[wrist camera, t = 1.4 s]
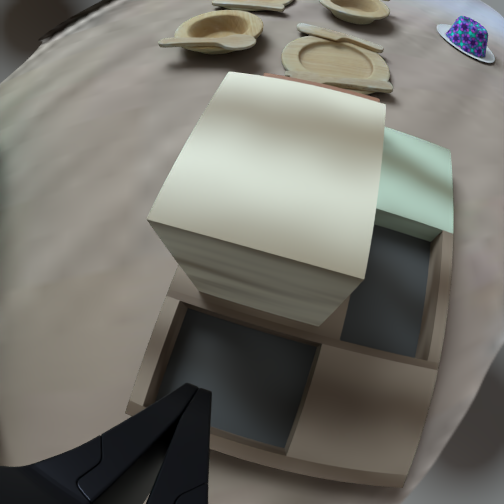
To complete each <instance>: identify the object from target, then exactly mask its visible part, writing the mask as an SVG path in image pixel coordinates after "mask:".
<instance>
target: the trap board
mask: <svg viewBox="0 0 504 504" xmlns="http://www.w3.org/2000/svg"><path fill="white" fill-rule="evenodd" d="M263 76H266V77H272V78H278V79H283V80H289V81H294V82H299V83H304V84H309V85H314V86H318V87H323V88H327V89H331V90H335V91H339V92H343V93H347V94H351V95H355V96H358V97H362V98H365V99H369V100H372V101H376V102H379V103H380V99H378V98H375V97H371V96H368V95H364V94H361V93H357V92H354V91H350V90H346V89H342V88H338V87H334V86H330V85H326V84H321V83H317V82H312V81H307V80H302V79H297V78H292V77H287V76H281V75H275V74H269V73H264V75H263ZM452 255H453V183H452V167H451V154H450V150H448V149H446V148H443V147H441V146H438V145H436V144H433V143H430V142H428V141H425V140H422V139H419V138H417V137H414V136H411V135H408V134H405V133H402V132H399V131H396V130H393V129H390V128H387V127H385V128H384V141H383V153H382V163H381V173H380V182H379V190H378V198H377V206H376V213H375V220H374V226H373V233H372V239H371V245H370V251H369V257H368V262H367V267H366V273H365V278H364V280H363V281H362V282H361V283H360V284H359V286H358V287H357V288H356V289H355V290H354V291H353V292H352V293H351V294H350V295H349V296H348V297H347V298H346V299H345V300H344V301H343V303H342V304H341V305H340V306H339V307H338V308H337V309H336V310H335V311H334V312H333V313H332V314H331V315H330V316H329V317H328V318H327V319H326V320H325V321H324V322H323V323H322V324H321V325H320V326H315V325H311V324H308V323H304V322H300V321H297V320H293V319H290V318H286V317H283V316H279V315H276V314H272V313H269V312H265V311H262V310H259V309H255V308H252V307H249V306H245V305H242V304H239V303H235V302H232V301H229V300H226V299H222V298H219V297H216V296H213V295H210V294H207V293H203V292H200V291H198V289H197V288H196V287H195V285H194V284H193V283H192V281H191V280H190V279H189V277H188V276H187V275H186V273H185V272H184V271H183V269H182V268H181V267H180V265H178V267H177V269H176V272H175V275H174V277H173V280H172V282H171V285H170V287H169V290H168V292H167V295H166V298H165V300H164V303H163V305H162V308H161V311H160V313H159V316H158V319H157V321H156V324H155V327H154V330H153V332H152V335H151V338H150V341H149V343H148V346H147V349H146V352H145V355H144V358H143V361H142V363H141V366H140V369H139V372H138V375H137V378H136V381H135V384H134V387H133V390H132V393H131V396H130V399H129V402H128V405H127V409H126V412H125V413H126V414H128V415H130V416H134V415H135V414H137V413H139V412H140V411H142V410H143V409H145V408H147V407H148V406H150V405H152V404H153V403H155V402H156V401H158V400H160V399H161V398H163V397H164V396H166V395H168V394H169V393H171V392H172V391H174V390H175V389H177V388H178V387H180V386H182V385H183V384H185V383H190V384H193V385H196V386H198V387H199V388H204V389H207V390H209V391H211V392H212V405H211V425H210V448H209V449H212V450H215V451H218V452H221V453H224V454H227V455H230V456H233V457H236V458H240V459H243V460H246V461H250V462H253V463H257V464H261V465H264V466H268V467H272V468H276V469H280V470H284V471H288V472H293V473H297V474H302V475H307V476H312V477H317V478H323V479H328V480H335V481H341V482H348V483H355V484H363V485H372V486H383V487H396V488H403V485H404V483H405V480H406V478H407V475H408V472H409V470H410V467H411V464H412V462H413V459H414V456H415V453H416V450H417V447H418V444H419V441H420V438H421V434H422V431H423V428H424V424H425V421H426V417H427V414H428V410H429V406H430V403H431V399H432V395H433V390H434V386H435V382H436V377H437V373H438V368H439V363H440V357H441V352H442V346H443V340H444V334H445V328H446V321H447V313H448V305H449V295H450V285H451V272H452Z"/></svg>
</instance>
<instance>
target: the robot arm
mask: <svg viewBox="0 0 504 504" xmlns="http://www.w3.org/2000/svg"><path fill="white" fill-rule="evenodd" d="M211 405H212V392H211V391H209V390H207V389H204V388H199V387H198V386H196V385H193V384H190V383H185V384H183V385H182V386H180V387H178V388H177V389H175V390H174V391H172V392H171V393H169V394H168V395H166V396H164V397H163V398H161V399H160V400H158V401H156V402H155V403H153V404H152V405H150V406H148V407H147V408H145V409H143V410H142V411H140V412H139V413H137V414H135V415H134V416H132V417H130V418H129V419H127V420H125V421H124V422H122V423H120V424H118V425H117V426H115V427H113V428H112V429H110V430H108V431H106V432H105V433H103V434H102V435H101V436H100V435H99V436H97V437H96V438H94V439H92V440H90V441H88V442H87V443H85V444H83V445H81V446H79V447H77V448H74V449H72V450H69V451H67V452H64V453H62V454H59V455H57V456H54V457H51V458H48V459H45V460H43V461H40V462H37V463H34V464H31V465H27V466H21V467H7V466H0V504H143V503H144V501H145V500H146V498H147V497H148V495H149V494H150V495H149V497H148V500H147V502H146V504H208V475H209V448H210V425H211Z"/></svg>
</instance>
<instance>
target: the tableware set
mask: <svg viewBox="0 0 504 504" xmlns="http://www.w3.org/2000/svg"><path fill="white" fill-rule="evenodd" d="M292 1H293V0H214V1H212V5H213V6H221V7H223V8H227V9H231V10H220V11H212V12H208V13H204V14H201V15H198V16H195V17H193V18H191V19H189V20H187V21H186V22H184V23H183V24H181V25H180V26H179V27H178V29H177V30H176V32H175V38H164V39H162V40H160V41H159V42H158V44H159V46H160V47H182V48H185V49H188V50H191V51H199V52H201V53H204V54H212V55H215V54H225V53H229V52H233V51H235V50H243V49H248V48H251V47H253V46H254V45H255V44H256V38H257V37H258V36H260V34H261V33H262V31H263V22H262V20H261V19H260V18H259V17H258V16H256V15H254V14H252V13H249V12H245V11H262V10H271V11H279V12H283V11H284V10H285V6H286V5H288V4H290V3H291V2H292ZM384 1H390V0H384ZM319 2H320V3H321V4H322V5H323V6H325V7H326V8H328V9H330V10H331V12H332V14H333V15H334V16H335V17H337V18H339V19H341V20H343V21H346V22H349V23H354V24H370V23H372V22H373V21H374V20H378V19H383V18H386V17H388V15H389V14H390V10H389V8H388V7H387V6H386V5H385V4H384V3H383V2H381V1H379V0H319ZM297 30H298V31H300V32H303V33H306V34H309V35H310V36H305V37H301V38H298V39H296V40H294V41H292V42H290V43H289V44H287V45H286V47H285V48H284V50H283V51H282V56H281V59H282V64H283V66H284V68H285V70H286V71H285V76H287V77H292V78H297V79H302V80H307V81H312V82H317V83H321V84H326V85H330V86H334V87H338V88H342V89H346V90H350V91H354V92H357V93H361V94H364V95H367V94H371V93H375V92H383V93H391V92H392V91H393V86H392V84H391V83H390V82H388V81H389V78H390V71H389V68H388V66H387V64H386V62H385V61H384V60H383V58H382V57H381V56H380V55H379V54H378V53H382V52H383V50H384V48H383V47H382V46H380V45H378V44H375V43H372V42H369V41H366V40H363V39H360V38H357V37H354V36H351V35H347V34H344V33H341V32H337V31H333V30H329V29H326V28H321V27H317V26H313V25H308V24H303V23H300V24H298V25H297Z"/></svg>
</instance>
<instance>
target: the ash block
mask: <svg viewBox="0 0 504 504" xmlns="http://www.w3.org/2000/svg"><path fill="white" fill-rule="evenodd" d="M385 112H386V105H385V104H382V103H379V102H376V101H372V100H369V99H365V98H362V97H358V96H355V95H351V94H347V93H343V92H339V91H335V90H331V89H327V88H323V87H318V86H314V85H309V84H304V83H299V82H294V81H289V80H283V79H278V78H272V77H266V76H259V75H252V74H245V73H237V72H228V74H227V75H226V77H225V78H224V80H223V82H222V83H221V85H220V86H219V88H218V90H217V91H216V93H215V94H214V96H213V98H212V99H211V101H210V102H209V104H208V106H207V107H206V109H205V111H204V112H203V114H202V116H201V118H200V119H199V121H198V123H197V124H196V126H195V128H194V130H193V131H192V133H191V135H190V137H189V138H188V140H187V142H186V144H185V145H184V147H183V149H182V151H181V153H180V155H179V156H178V158H177V160H176V162H175V164H174V166H173V168H172V169H171V171H170V173H169V175H168V177H167V179H166V181H165V183H164V185H163V187H162V189H161V191H160V193H159V195H158V197H157V199H156V201H155V203H154V205H153V207H152V209H151V211H150V213H149V215H148V217H147V221H148V222H149V223H150V225H151V226H152V228H153V229H154V231H155V232H156V233H157V235H158V236H159V238H160V239H161V240H162V242H163V243H164V245H165V246H166V247H167V249H168V250H169V252H170V253H171V254H172V256H173V257H174V258H175V260H176V261H177V263H178V264H179V265H180V267H181V268H182V269H183V271H184V272H185V273H186V275H187V276H188V277H189V279H190V280H191V281H192V283H193V284H194V285H195V287H196V288H197V289H198V291H200V292H203V293H207V294H210V295H213V296H216V297H219V298H222V299H226V300H229V301H232V302H235V303H239V304H242V305H245V306H249V307H252V308H255V309H259V310H262V311H265V312H269V313H272V314H276V315H279V316H283V317H286V318H290V319H293V320H297V321H300V322H304V323H308V324H311V325H315V326H320V325H321V324H322V323H323V322H324V321H325V320H326V319H327V318H328V317H329V316H330V315H331V314H332V313H333V312H334V311H335V310H336V309H337V308H338V307H339V306H340V305H341V304H342V303H343V301H344V300H345V299H346V298H347V297H348V296H349V295H350V294H351V293H352V292H353V291H354V290H355V289H356V288H357V287H358V286H359V284H360V283H361V282H362V281H363V280H364V278H365V273H366V267H367V262H368V257H369V251H370V245H371V239H372V233H373V226H374V220H375V213H376V206H377V198H378V190H379V182H380V173H381V163H382V153H383V141H384V128H385Z"/></svg>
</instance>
